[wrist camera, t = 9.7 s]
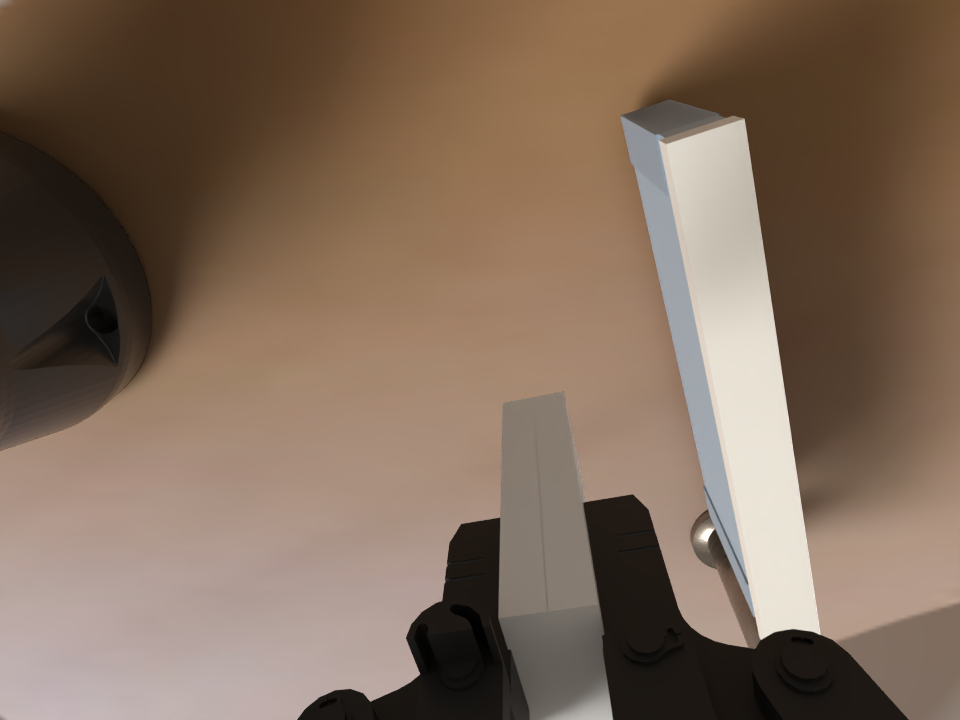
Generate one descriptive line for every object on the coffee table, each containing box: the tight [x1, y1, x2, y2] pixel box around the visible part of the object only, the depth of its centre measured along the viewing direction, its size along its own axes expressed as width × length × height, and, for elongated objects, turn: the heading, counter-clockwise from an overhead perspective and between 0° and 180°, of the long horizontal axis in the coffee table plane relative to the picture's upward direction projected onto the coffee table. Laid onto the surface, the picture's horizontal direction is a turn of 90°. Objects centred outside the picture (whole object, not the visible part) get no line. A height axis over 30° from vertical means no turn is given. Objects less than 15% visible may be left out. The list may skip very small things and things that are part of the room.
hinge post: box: [691, 510, 761, 649], centre depth 31 cm, size 4×4×13 cm
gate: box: [621, 99, 820, 640], centre depth 26 cm, size 22×2×9 cm, turn 18°
